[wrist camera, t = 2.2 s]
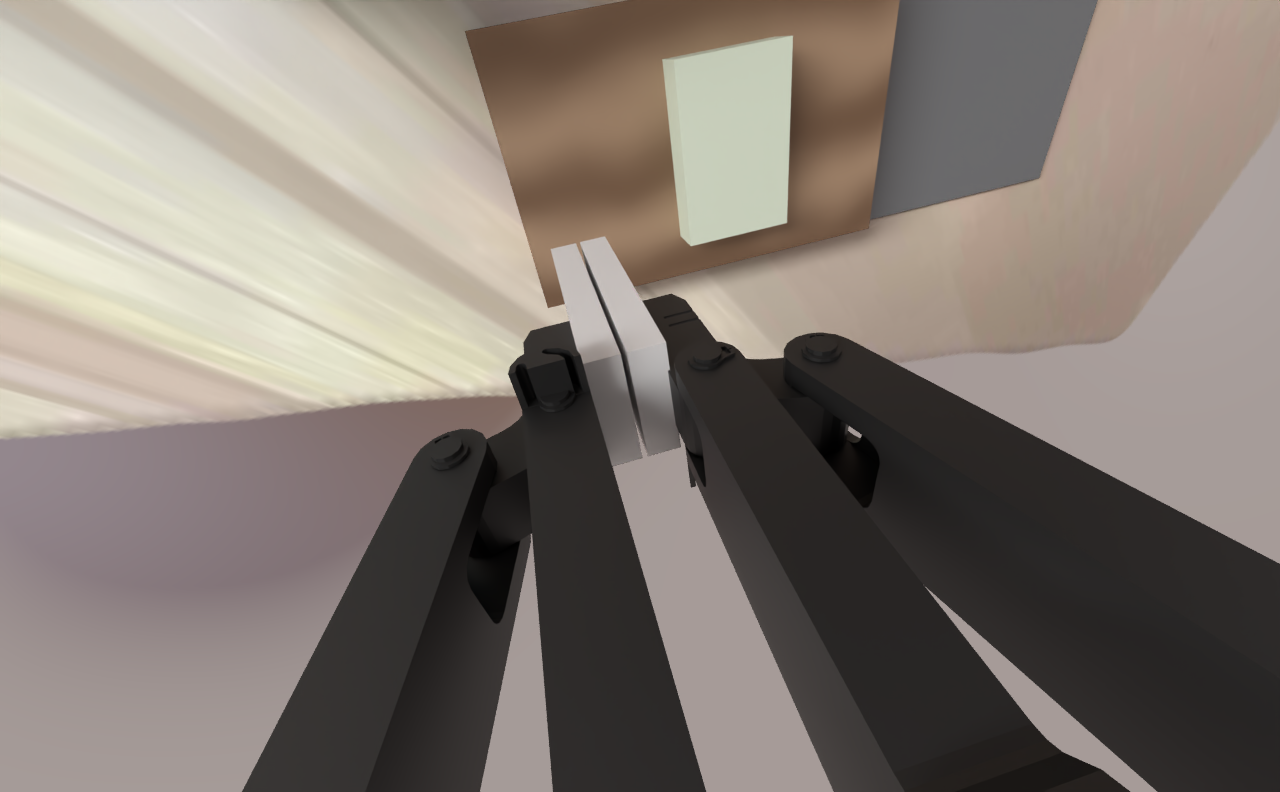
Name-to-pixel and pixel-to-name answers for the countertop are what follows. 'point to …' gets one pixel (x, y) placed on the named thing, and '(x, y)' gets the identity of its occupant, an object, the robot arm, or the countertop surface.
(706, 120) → the pale green block
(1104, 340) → the countertop surface
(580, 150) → the board
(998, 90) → the mat
